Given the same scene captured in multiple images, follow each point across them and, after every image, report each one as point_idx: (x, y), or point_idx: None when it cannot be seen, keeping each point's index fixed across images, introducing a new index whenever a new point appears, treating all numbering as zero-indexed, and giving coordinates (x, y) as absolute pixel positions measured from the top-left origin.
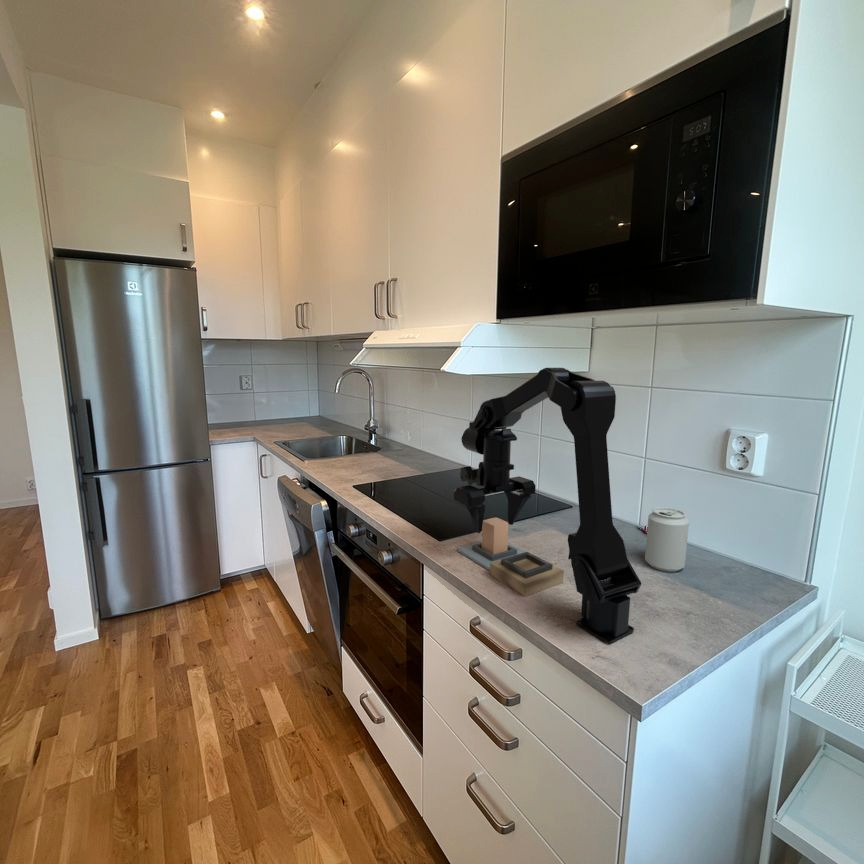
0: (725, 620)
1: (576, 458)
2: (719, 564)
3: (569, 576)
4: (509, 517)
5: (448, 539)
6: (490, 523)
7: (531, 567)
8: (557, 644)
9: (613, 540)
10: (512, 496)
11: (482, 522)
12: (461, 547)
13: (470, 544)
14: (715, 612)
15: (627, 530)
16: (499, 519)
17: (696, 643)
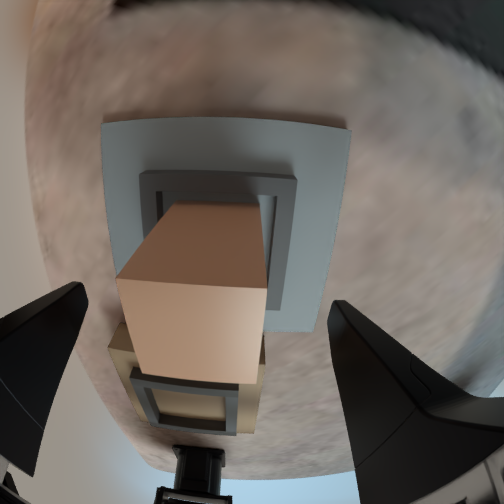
0: (324, 470)
1: None
2: None
3: (289, 404)
4: (343, 336)
5: (153, 7)
6: (141, 342)
7: (198, 407)
8: (129, 439)
9: None
10: (410, 480)
11: (62, 370)
12: (120, 126)
13: (174, 117)
14: (334, 466)
15: None
16: (250, 331)
17: (260, 476)
